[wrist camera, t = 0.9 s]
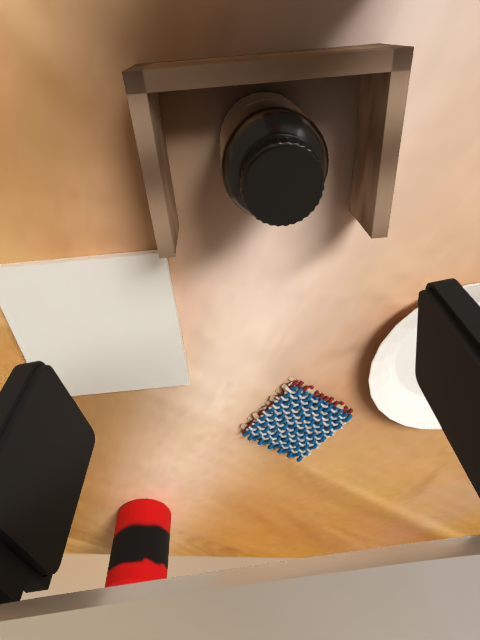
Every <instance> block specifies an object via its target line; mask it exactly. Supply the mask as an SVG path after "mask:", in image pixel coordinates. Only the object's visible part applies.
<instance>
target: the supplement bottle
mask: <svg viewBox="0 0 480 640" xmlns="http://www.w3.org/2000/svg"><path fill="white" fill-rule="evenodd" d="M220 162H221V174H222V179H223V183H224V186H225V189H226V191H227V193H228V195H229V196H230V198H231V199H232V201H233V202H234V203H235V204H236V205H237V206H238V207H239V208H240V209H242V210H243V211H244V212H246V213H247V214H249V215H251V216H254V217H255V218H256V219H257V220H261V221H262V222H263V223H268V224H269V225H276V226H281V225H284V226H287V225H289V224H295V223H296V222H298V221H302V220H303V218H305V217H307V216H308V215H309V214H310V212H312V211H314V209H315V206H317V205H318V204H319V200H320V198H321V197H322V192H323V190H324V183H325V180H326V177H327V172H328V163H329V158H328V150H327V146H326V143H325V140H324V138H323V136H322V134H321V132H320V131H319V129H318V128H317V126H316V125H315V124H314V123H313V122H312V121H311V120H310V119H309V118H308V117H307V116H306V115H305V114H304V113H303V112H302V111H301V110H300V109H299V108H298V107H297V106H296V105H295V104H294V103H293V102H291V101H290V100H289V99H287V98H286V97H284V96H282V95H279V94H276V93H272V92H258V93H253V94H250V95H248V96H246V97H244V98H242V99H241V100H239V101H238V102H237V103H236V104H235V105H234V106H233V107H232V108H231V109H230V111H229V112H228V114H227V115H226V117H225V119H224V121H223V124H222V127H221V132H220Z"/></svg>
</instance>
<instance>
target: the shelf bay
mask: <svg viewBox="0 0 480 640" xmlns="http://www.w3.org/2000/svg"><path fill="white" fill-rule="evenodd" d="M413 50H414V47H411V46H400V45H390V44H369V45H357V46H346V47H334V48H322V49H311V50H299V51H288V52H276V53H264V54H253V55H241V56H229V57H218V58H206V59H195V60H183V61H171V62H160V63H148V64H136V65H134V66H132V67H130V68H128V69H127V70H125V71H123V72H122V74H123V79H124V84H125V89H126V94H127V99H128V104H129V109H130V114H131V119H132V124H133V129H134V134H135V139H136V144H137V149H138V154H139V159H140V164H141V169H142V174H143V179H144V184H145V190H146V195H147V200H148V205H149V210H150V215H151V220H152V225H153V230H154V235H155V240H156V245H157V250H158V255H159V258H168V257H175V253H176V246H177V238H178V230H179V223H178V217H177V211H176V204H175V198H174V192H173V186H172V180H171V173H170V167H169V161H168V155H167V149H166V142H165V136H164V130H163V124H162V117H161V111H160V105H159V99H158V93H157V92H165V91H176V90H188V89H199V88H211V87H222V86H233V85H245V84H256V83H268V82H279V81H291V80H302V79H314V78H325V77H337V76H348V75H360V74H361V76H360V88H359V100H358V112H357V124H356V136H355V149H354V161H353V173H352V185H351V197H350V209H349V210H350V212H351V213H352V214H353V216H354V217H355V218H356V219H357V221H358V222H359V223H360V224H361V226H362V227H363V228H364V229H365V231H366V232H367V233H368V235H369V236H370V237H371V238H382V237H387V235H388V228H389V220H390V213H391V206H392V199H393V192H394V185H395V178H396V171H397V164H398V156H399V149H400V142H401V135H402V128H403V121H404V114H405V107H406V100H407V93H408V85H409V78H410V71H411V64H412V57H413Z"/></svg>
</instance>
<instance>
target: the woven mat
mask: <svg viewBox="0 0 480 640" xmlns="http://www.w3.org/2000/svg"><path fill="white" fill-rule="evenodd" d="M288 380H290V381H291V383H290V384H287V385H286V384H285V383H284V384H283V385H282V386H281V387H282V388H283V390H280V389H276V390H275V392H277V393H278V394H280V395H279V396H278V397H277V396H275V395H272V396H270V401H272V402H270V401H267V402H266V403H265V404H266V405H267V406H265V407H261V408H260V409H259V410H261V411H262V412H258V413H256V412H254V413H253V414H252V416H253V417H254V418H251V417H248V418H247V419H249V420H251V422H250V423H249V424H243V423H242V424H241V428H242V429H244V430H243V431H242V435H243V436H246V435H247V434H251V435H250V436H249V437H248V440H249V441H250V440H252V439H253V440H254V441H255V440H256V439H257V440H259V442H258V444H259V445H261V444H262V443H263V444H264V445H266V444H268V443H269V444H270V443H271V444H270V445H269V446H268V449H271V448H273V449H276V448H280V447H281V448H280V449H279V450H278V452H277V453H279V454H280V453H284V454H285V453H289V454H288V455H287V457H288V458H290V457H291V456H292V457H293V458H294V457H295V456H299V458H297V460H296V461H298V462H299V461H301V459H302V458H304V457H305V456H308V455H310V454H309V452H311V451H313V450H311V449H315V448H317V449H318V448H319V447H318V445H321V444H322V443H320V442H326V441H325V439H326V438H329V437H330V436H334V434H333V432H334V433H335V432H337V430H335V429H339V428H341V429H342V428H343V427H342V425H344V424H346V422H347V421H348V422H350V419H351V417H352V415H351V414H350V413H352V412H353V409H351V408H349V407H348V406H345V405H344V402H338V401H336V400H334V398H333V397H331V398H330V397H329V396H326V395H324V394H323V393H321V392H319V391H318V390H315V389H314V387H313V386H308V385H306V384H304V382H302V381H298V380H296V379H295V378H292V377H289V378H288ZM295 385H297V386H295ZM308 394H309V395H308ZM316 396H318V397H316ZM325 401H327V402H325ZM330 403H331V404H330ZM328 405H329V406H328ZM345 411H347V412H345ZM328 412H329V413H328ZM344 412H345V413H344ZM280 414H281V415H280ZM307 417H309V418H307ZM316 422H317V423H316ZM294 428H295V429H294ZM328 430H329V431H328ZM266 432H267V433H266ZM321 437H322V438H321ZM283 438H284V439H283ZM287 448H288V449H287Z"/></svg>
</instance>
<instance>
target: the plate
mask: <svg viewBox="0 0 480 640" xmlns="http://www.w3.org/2000/svg"><path fill="white" fill-rule="evenodd" d="M462 287H463V288H464V289H465V290H466V291H467V292H468V294H469V295H470V296H471V297H472V298H473V299H474V300H475V301H476V302H477V304H478V305H479V306H480V283H476V284H470V285H465V286H462ZM417 319H418V308H416V309H415V310H413V311H412V312H411V313H410V314H409V315H407V316H406V317H405V318H404V319H403V320H401V321H400V322H399V323H398V324H397V325H395V327H394V328H393V329H392V330H391V332H390V333H389V334H388V335H387V337H386V338H385V339H384V340H383V341H382V343H381V344H380V346H379V348H378V350H377V352H376V354H375V356H374V358H373V360H372V362H371V368H370V373H369V379H368V382H369V389H370V396H371V398H372V399H373V401H374V403H375V405H376V406H377V408H378V409H379V410H380V411H381V412H382V413H383V414H384V415H386V416H387V417H388V418H389V419H391V420H393V421H395V422H397V423H400V424H402V425H404V426H408V427H414V428H419V429H442V428H441V426H440V424H439V422H438V420H437V419H436V417H435V415H434V413H433V411H432V409H431V407H430V406H429V404H428V402H427V400H426V398H425V396H424V395H423V393H422V391H421V389H420V387H419V385H418V383H417V380H416V375H415V361H416V340H417Z"/></svg>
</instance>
